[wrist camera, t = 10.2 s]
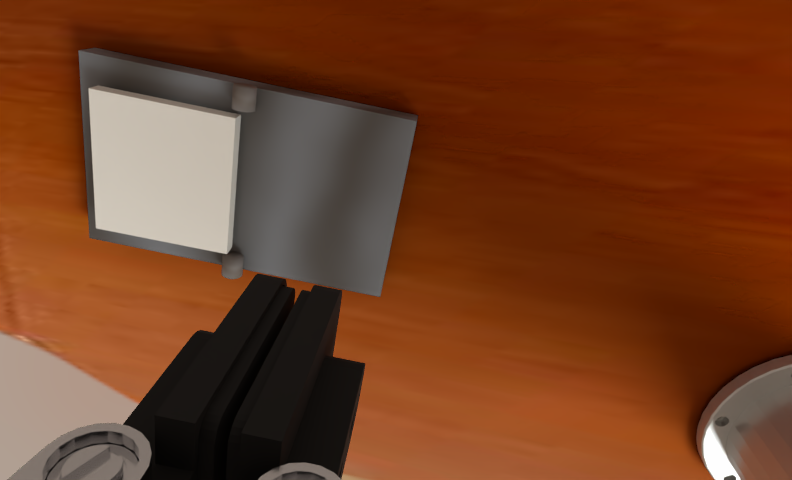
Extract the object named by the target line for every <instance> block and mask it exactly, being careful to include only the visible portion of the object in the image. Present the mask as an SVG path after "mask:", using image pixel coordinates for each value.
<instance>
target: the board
mask: <svg viewBox="0 0 792 480" xmlns="http://www.w3.org/2000/svg"><path fill="white" fill-rule="evenodd" d="M78 51H79V68H80V85H81V101H82V118H83V135H84V152H85V169H86V186H87V203H88V220H89V237H90V238H92V239H97V240H102V241H107V242H112V243H117V244H122V245H127V246H132V247H137V248H142V249H147V250H151V251H156V252H161V253H166V254H171V255H176V256H181V257H186V258H191V259H196V260H201V261H206V262H211V263H215V264H220V265H222V276H224V277H225V278H229V279H237V278H240V277H241V276H242V273H243V269H245V270H250V271H255V272H260V273H265V274H270V275H275V276H279V277H284V278H289V279H294V280H299V281H304V282H309V283H314V284H319V285H324V286H329V287H334V288H339V289H343V290H348V291H353V292H358V293H363V294H368V295H373V296H378V297H380V295H381V290H382V285H383V280H384V276H385V271H386V266H387V261H388V257H389V252H390V247H391V242H392V238H393V233H394V228H395V223H396V219H397V214H398V209H399V204H400V200H401V195H402V190H403V185H404V181H405V176H406V171H407V166H408V162H409V157H410V152H411V148H412V143H413V138H414V133H415V129H416V124H417V118H418V115H414V114H409V113H404V112H399V111H395V110H390V109H385V108H380V107H376V106H371V105H366V104H361V103H356V102H352V101H347V100H342V99H337V98H333V97H328V96H323V95H318V94H314V93H309V92H304V91H299V90H294V89H290V88H285V87H280V86H275V85H271V84H266V83H261V82H256V81H252V80H247V79H242V78H237V77H232V76H228V75H223V74H218V73H213V72H209V71H204V70H199V69H194V68H190V67H185V66H180V65H175V64H170V63H166V62H161V61H156V60H151V59H147V58H142V57H137V56H132V55H128V54H123V53H118V52H113V51H108V50H104V49H99V48H90V49H84V50H78ZM98 85H99V86H104V87H109V88H113V89H118V90H123V91H128V92H133V93H138V94H143V95H148V96H152V97H157V98H162V99H167V100H172V101H177V102H182V103H187V104H191V105H196V106H201V107H206V108H211V109H216V110H221V111H225V112H230V113H235V114H240V115H241V123H240V138H239V152H238V167H237V182H236V196H235V211H234V226H233V240H232V248H231V249H230V251H229V252H228V253H227V254H223V253H218V252H213V251H208V250H203V249H198V248H193V247H188V246H183V245H178V244H173V243H168V242H163V241H158V240H153V239H147V238H142V237H137V236H132V235H127V234H122V233H117V232H112V231H107V230H102V229H97V228H96V221H95V202H94V183H93V165H92V146H91V127H90V108H89V89H88V88H91V87H94V86H98Z"/></svg>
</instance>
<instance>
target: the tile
mask: <svg viewBox="0 0 792 480" xmlns="http://www.w3.org/2000/svg"><path fill="white" fill-rule="evenodd" d="M88 89H89V108H90V127H91V146H92V165H93V183H94V202H95V221H96V228H97V229H102V230H107V231H112V232H117V233H122V234H127V235H132V236H137V237H142V238H147V239H153V240H158V241H163V242H168V243H173V244H178V245H183V246H188V247H193V248H198V249H203V250H208V251H213V252H218V253H223V254H227V253H228V252H229V251H230V249H231V248H232V240H233V226H234V211H235V196H236V182H237V167H238V152H239V138H240V123H241V115H240V114H235V113H230V112H225V111H221V110H216V109H211V108H206V107H201V106H196V105H191V104H187V103H182V102H177V101H172V100H167V99H162V98H157V97H152V96H148V95H143V94H138V93H133V92H128V91H123V90H118V89H113V88H109V87H104V86H99V85H98V86H94V87H91V88H88Z"/></svg>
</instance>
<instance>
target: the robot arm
mask: <svg viewBox="0 0 792 480" xmlns="http://www.w3.org/2000/svg"><path fill="white" fill-rule="evenodd" d="M341 298H342V290H337V289H332V288H327V287H322V286H317V285H314V286H313V288H312V290H311V292H310V291H305V290H302V291H301V293H300V295H299V297H298V298H297V300H296V302H295V304H294V299H295V289H294V288H290V287H287V283H286V279H282V278H277V277H272V276H267V275H262V274H257V275H256V276H255V277H254V278H253V280H252V281H251V282H250V284H249V285H248V287H247V288H246V289H245V291H244V292H243V294H242V295H241V296H240V298H239V299H238V300H237V302H236V303H235V305H234V306H233V307H232V309H231V310H230V311H229V313H228V314H227V316H226V317H225V318H224V320H223V321H222V322H221V324H220V325H219V327H218V328H217V329H216V331H215V332H214V333H213V332H208V331H203V330H200V331H197V332H196V333H195V334H194V335H193V336H192V337H191V338H190V340H189V341H188V342H187V343H186V345H185V346H184V347H183V348H182V350H181V351H180V352H179V354H178V355H177V356H176V357H175V359H174V360H173V361H172V363H171V364H170V365H169V366H168V368H167V369H166V370H165V371H164V373H163V374H162V375H161V377H160V378H159V379H158V380H157V382H156V383H155V384H154V386H153V387H152V388H151V389H150V391H149V392H148V393H147V394H146V396H145V397H144V398H143V400H142V401H141V402H140V403H139V405H138V406H137V407H136V409H135V410H134V411H133V412H132V414H131V415H130V416H129V417H128V419H127V420H126V421H125V423H124V424H123V425H121V424H116V423H103V424H102V423H101V424H93V425H89V426H85V427H80V428H77V429H75V430H73V431H71V432H68V433H66V434H64V435H61V436H60V437H59V438H57V439H56V440H54V441H53V442H51V443H50V444H48V445H47V446H46V447H45V448H43V449H42V450H41V451H40V452H39V453H38V454H37V455H35V456H34V457H33V458H32V459H31V460H30V461H28V462H27V463H26V464H25V465H24V466H22V467H21V468H20V469H19V470H18V471H17V472H16V473H14V474H13V475H12V476H11V477H10V478H9V479H7V480H341V478H342V474H343V469H344V465H345V461H346V457H347V452H348V448H349V444H350V439H351V435H352V430H353V426H354V421H355V416H356V412H357V407H358V402H359V396H360V391H361V386H362V380H363V375H364V369H365V363H360V362H355V361H350V360H346V359H341V358H336V357H333V351H334V345H335V338H336V331H337V325H338V318H339V312H340V305H341ZM696 442H697V448H698V453H699V455H700V457H701V459H702V461H703V463H704V465H705V467H706V468H707V470H708V471H709V473H710V474H711V476H712V477H713V478H714V479H715V480H792V355H789V356H785V357H781V358H777V359H773V360H771V361H768V362H765V363H763V364H760V365H758V366H755V367H753V368H751V369H750V370H748V371H746V372H744V373H742V374H741V375H739V376H737V377H736V378H735V379H733V380H732V381H731V382H729V383H728V384H727V385H725V386H724V387H723V388H722V389H721V390H720V391H719V392H718V393H717V394H716V395H715V396H714V397H713V398H712V400H711V401H710V402H709V404H708V406H707V407H706V409H705V410H704V412H703V413H702V416H701V419H700V421H699V424H698V427H697V436H696Z"/></svg>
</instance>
